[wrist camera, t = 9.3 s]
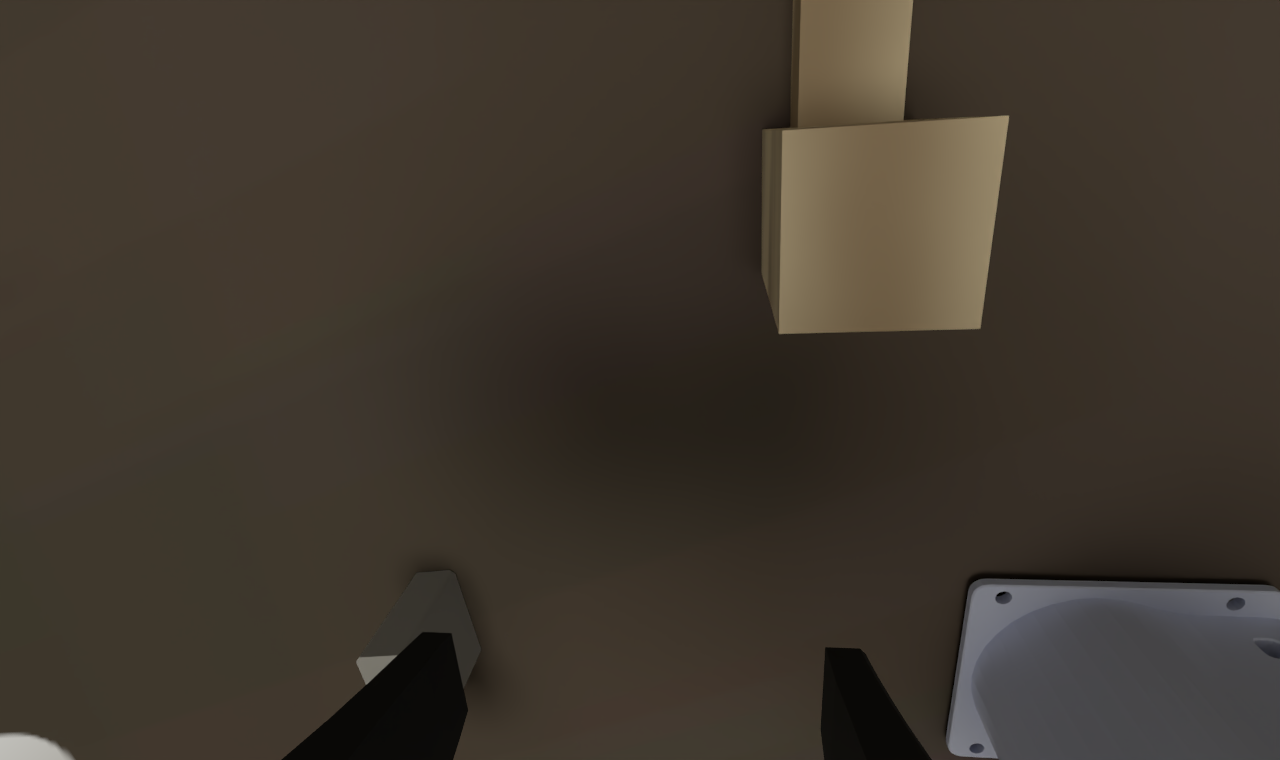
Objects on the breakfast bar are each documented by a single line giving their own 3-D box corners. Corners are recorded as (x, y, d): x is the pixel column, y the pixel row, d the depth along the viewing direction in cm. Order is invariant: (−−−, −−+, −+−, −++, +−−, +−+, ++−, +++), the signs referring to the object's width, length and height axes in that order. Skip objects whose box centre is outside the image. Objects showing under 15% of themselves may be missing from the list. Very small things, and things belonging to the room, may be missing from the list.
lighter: (412, 573, 25) (282, 762, 17) (454, 569, 24) (339, 761, 17) (462, 709, 27) (367, 926, 20) (501, 707, 27) (418, 927, 20)
